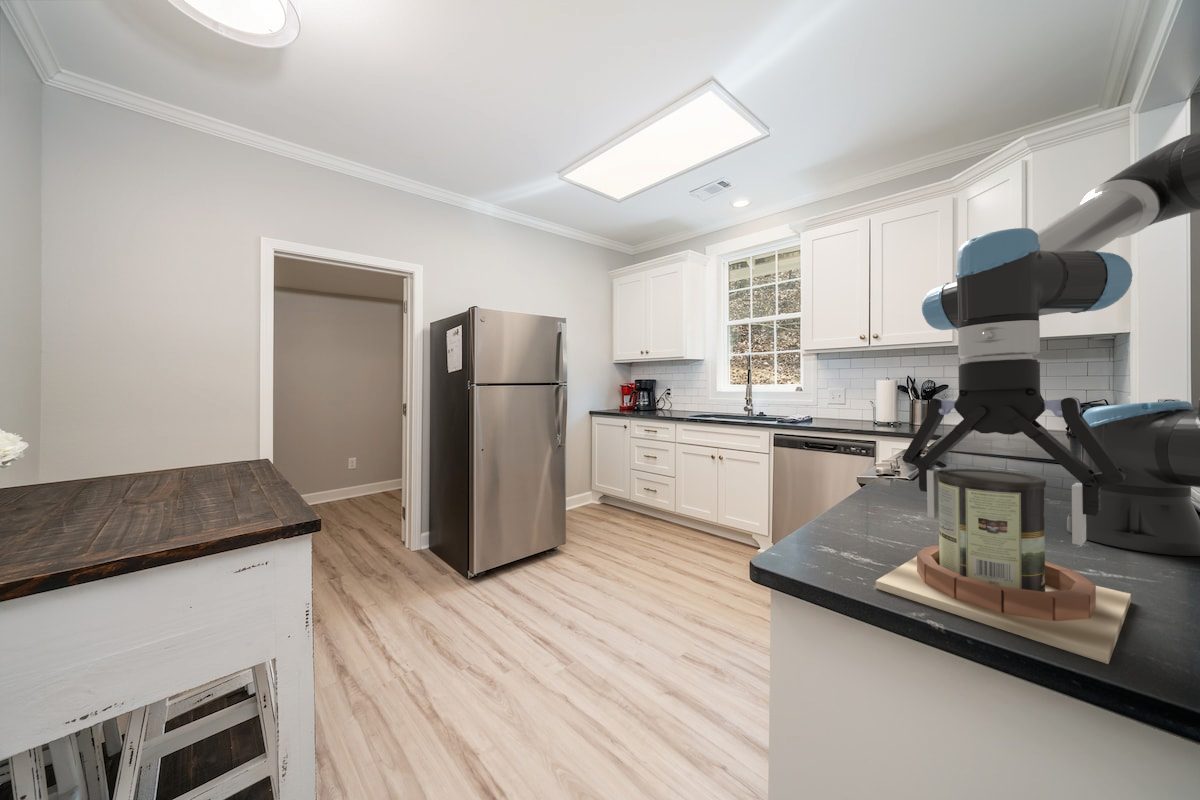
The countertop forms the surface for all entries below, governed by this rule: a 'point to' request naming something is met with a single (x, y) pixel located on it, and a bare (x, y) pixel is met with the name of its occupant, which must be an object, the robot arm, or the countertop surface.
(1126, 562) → the countertop surface
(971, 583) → the ring holder
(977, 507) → the coffee can
